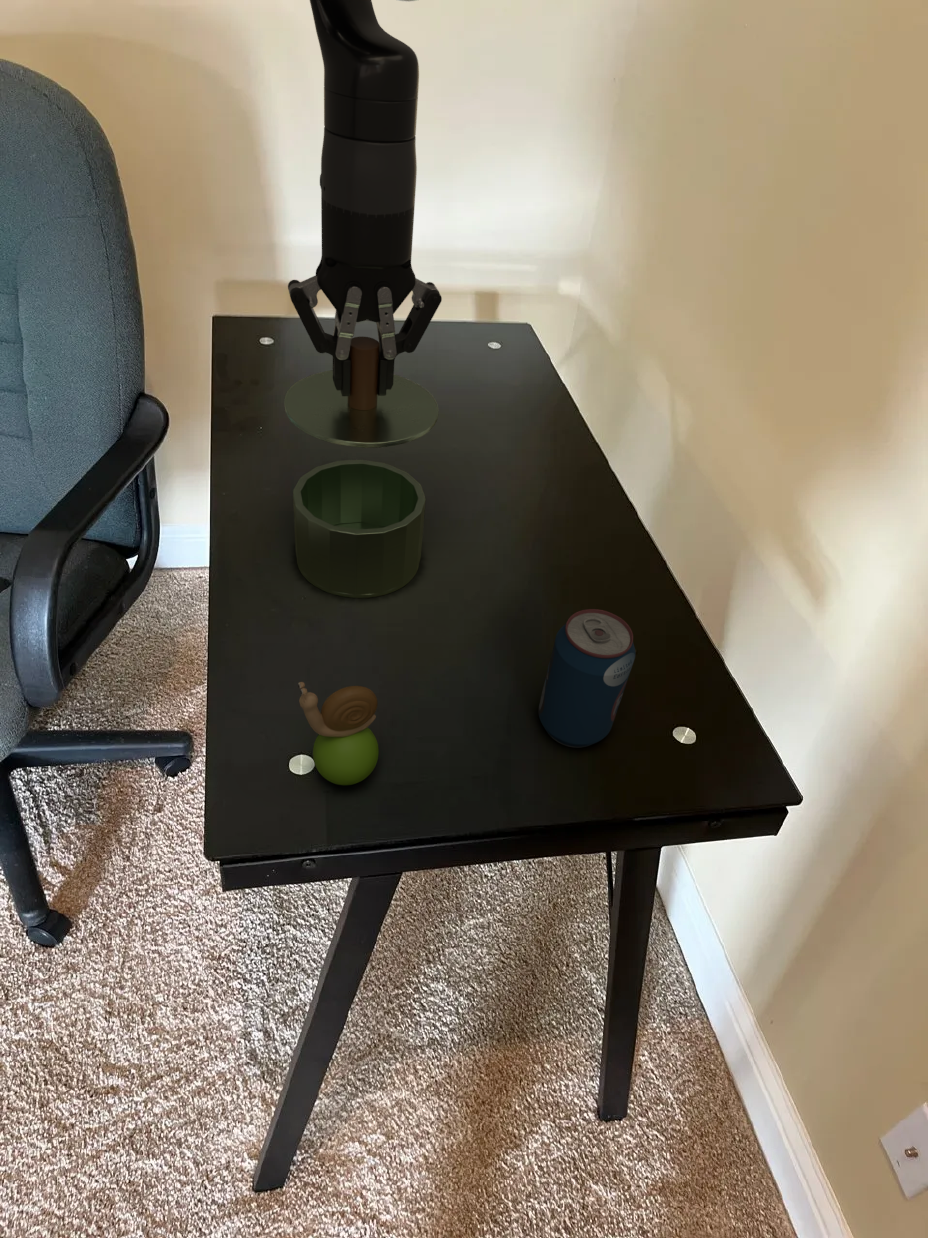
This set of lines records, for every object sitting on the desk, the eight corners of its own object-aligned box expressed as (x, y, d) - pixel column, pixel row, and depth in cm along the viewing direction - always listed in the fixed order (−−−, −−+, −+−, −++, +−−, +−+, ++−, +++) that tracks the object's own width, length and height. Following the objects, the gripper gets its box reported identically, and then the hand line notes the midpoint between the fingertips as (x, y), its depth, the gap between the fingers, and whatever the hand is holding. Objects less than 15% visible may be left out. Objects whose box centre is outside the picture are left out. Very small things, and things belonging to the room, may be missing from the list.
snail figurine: (294, 759, 71) (288, 662, 63) (365, 740, 73) (368, 643, 65) (312, 809, 68) (309, 713, 59) (386, 787, 70) (392, 692, 62)
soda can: (621, 746, 76) (654, 654, 68) (551, 759, 74) (577, 666, 66) (591, 691, 81) (619, 599, 73) (525, 702, 79) (546, 609, 71)
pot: (303, 603, 86) (300, 537, 80) (291, 526, 95) (288, 462, 90) (430, 592, 89) (437, 529, 83) (406, 518, 99) (410, 457, 93)
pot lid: (292, 456, 72) (290, 381, 68) (278, 379, 83) (274, 309, 78) (453, 450, 76) (461, 379, 71) (420, 377, 86) (425, 310, 82)
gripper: (284, 206, 62) (291, 413, 74) (463, 212, 66) (443, 409, 77) (275, 176, 67) (283, 374, 79) (442, 184, 71) (426, 372, 82)
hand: (363, 391), depth 78 cm, fingers closed on pot lid, 3 cm apart
